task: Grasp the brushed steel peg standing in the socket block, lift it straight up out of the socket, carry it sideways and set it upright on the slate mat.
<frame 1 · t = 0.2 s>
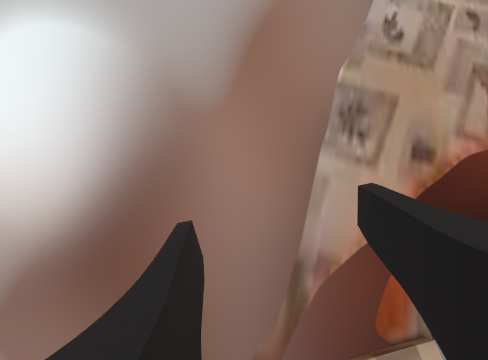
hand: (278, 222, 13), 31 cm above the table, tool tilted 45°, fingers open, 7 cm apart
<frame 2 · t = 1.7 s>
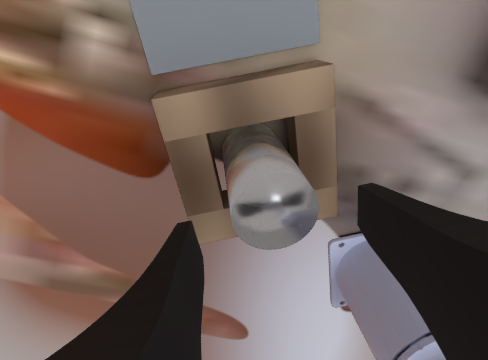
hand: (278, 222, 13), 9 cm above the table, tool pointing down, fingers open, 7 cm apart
socket block: (251, 151, 20), on the table
steel peg: (260, 175, 17), in the socket block
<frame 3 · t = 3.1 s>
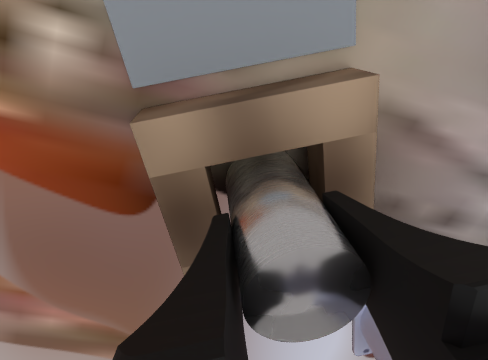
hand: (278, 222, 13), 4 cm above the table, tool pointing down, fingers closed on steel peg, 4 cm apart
socket block: (262, 181, 16), on the table
steel peg: (278, 223, 12), in the socket block, touching gripper
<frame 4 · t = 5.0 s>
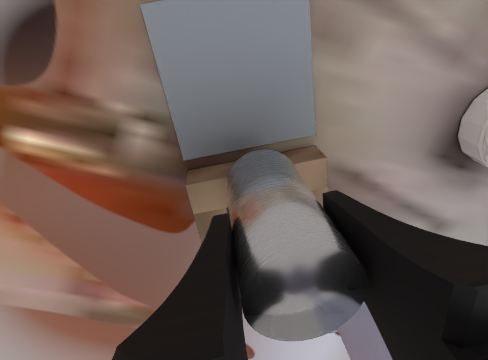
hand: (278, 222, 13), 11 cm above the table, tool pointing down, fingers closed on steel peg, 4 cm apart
socket block: (260, 211, 25), on the table
slate mat: (238, 77, 20), on the table
steel peg: (278, 224, 13), point 10 cm above the table, touching gripper
when the fingers open (5 cm above the table, at t = 7.2 s): steel peg stays where it is, resting on slate mat.
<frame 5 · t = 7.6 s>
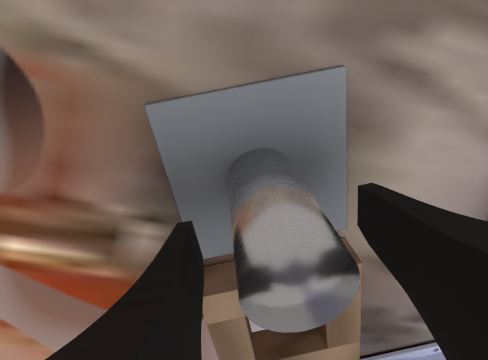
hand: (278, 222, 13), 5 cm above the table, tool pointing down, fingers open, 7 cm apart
socket block: (280, 303, 22), on the table
slate mat: (259, 173, 17), on the table
steel peg: (275, 221, 13), on the slate mat
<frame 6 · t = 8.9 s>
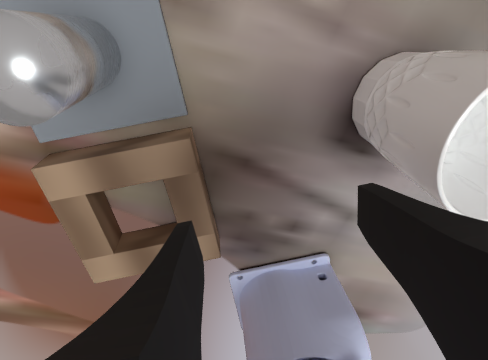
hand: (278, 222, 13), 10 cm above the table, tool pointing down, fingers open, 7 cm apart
socket block: (143, 200, 23), on the table
slate mat: (86, 48, 18), on the table
white cup: (393, 100, 22), on the table
steel peg: (56, 61, 14), on the slate mat
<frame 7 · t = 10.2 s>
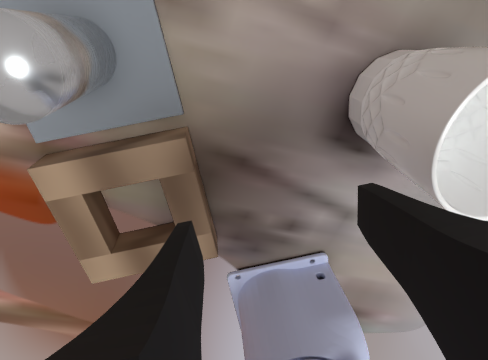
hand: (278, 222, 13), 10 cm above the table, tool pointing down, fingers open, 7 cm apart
socket block: (140, 200, 23), on the table
slate mat: (81, 48, 18), on the table
white cup: (389, 99, 22), on the table
steel peg: (50, 60, 14), on the slate mat
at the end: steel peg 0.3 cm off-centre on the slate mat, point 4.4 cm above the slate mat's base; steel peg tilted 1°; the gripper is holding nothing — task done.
